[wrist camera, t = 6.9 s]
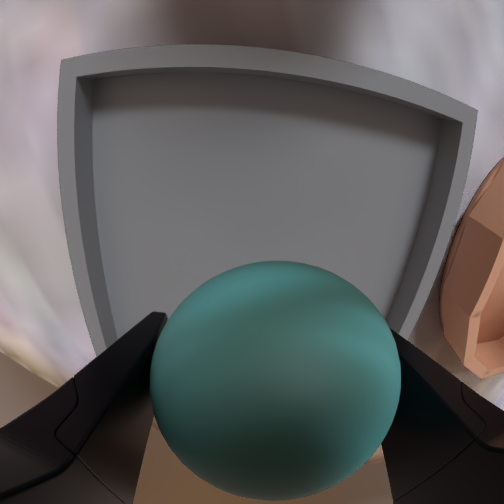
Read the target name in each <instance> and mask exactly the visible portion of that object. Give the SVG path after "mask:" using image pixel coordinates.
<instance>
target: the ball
mask: <svg viewBox="0 0 504 504" xmlns="http://www.w3.org/2000/svg"><path fill="white" fill-rule="evenodd" d="M400 389H401V368H400V360H399V356H398V351H397V347H396V343H395V340H394V338H393V335H392V333H391V331H390V328H389V327H388V325H387V323H386V321H385V319H384V317H383V316H382V315H381V313H380V312H379V310H378V309H377V308H376V306H375V305H374V304H373V303H372V302H371V300H370V299H369V298H368V297H367V296H365V295H364V294H363V293H362V292H361V291H360V290H359V289H358V288H356V287H355V286H354V285H353V284H351V283H350V282H348V281H346V280H345V279H343V278H341V277H339V276H338V275H336V274H334V273H332V272H330V271H327V270H325V269H322V268H320V267H316V266H313V265H309V264H305V263H299V262H292V261H263V262H255V263H251V264H246V265H242V266H239V267H236V268H233V269H230V270H228V271H225V272H223V273H221V274H219V275H217V276H215V277H213V278H211V279H209V280H208V281H206V282H205V283H203V284H202V285H200V286H199V287H198V288H197V289H195V290H194V291H193V292H192V293H191V294H190V295H189V296H188V297H186V298H185V299H184V300H183V301H182V302H181V303H180V305H179V306H178V307H177V308H176V309H175V311H174V312H173V313H172V315H171V316H170V318H169V319H168V321H167V323H166V324H165V326H164V328H163V330H162V331H161V334H160V336H159V339H158V341H157V344H156V347H155V350H154V353H153V358H152V363H151V370H150V395H151V401H152V407H153V412H154V415H155V418H156V421H157V424H158V426H159V429H160V431H161V433H162V435H163V437H164V438H165V440H166V442H167V444H168V445H169V447H170V448H171V449H172V451H173V452H174V453H175V455H176V456H177V457H178V458H179V459H180V460H181V462H182V463H183V464H184V465H185V466H187V467H188V468H189V469H190V470H191V471H192V472H194V473H195V474H196V475H197V476H198V477H200V478H201V479H203V480H205V481H206V482H208V483H210V484H212V485H213V486H215V487H217V488H219V489H221V490H223V491H226V492H229V493H232V494H234V495H238V496H241V497H246V498H252V499H259V500H272V501H275V500H289V499H296V498H301V497H305V496H309V495H312V494H315V493H318V492H320V491H323V490H326V489H328V488H330V487H332V486H334V485H336V484H338V483H339V482H341V481H343V480H344V479H346V478H347V477H349V476H350V475H352V474H353V473H354V472H356V471H357V470H358V469H359V468H360V467H361V466H362V465H363V464H364V463H365V462H366V461H368V460H369V458H370V457H371V456H372V455H373V454H374V452H375V451H376V450H377V448H378V447H379V446H380V444H381V443H382V441H383V440H384V438H385V436H386V434H387V432H388V430H389V428H390V426H391V424H392V422H393V419H394V416H395V413H396V410H397V406H398V403H399V397H400Z"/></svg>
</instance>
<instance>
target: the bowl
mask: <svg viewBox="0 0 504 504" xmlns="http://www.w3.org/2000/svg"><path fill="white" fill-rule="evenodd" d="M439 310H440V319H441V322H442V326H443V328H444V337H445V338H446V340H447V341H448V343H449V344H450V346H451V347H452V349H453V350H454V352H455V353H456V355H457V356H458V358H459V359H460V361H461V362H462V364H463V365H464V366H465V367H466V368H468V369H469V370H470V371H472V372H473V373H474V374H475V375H477V376H478V377H479V378H481V379H484V378H487V377H490V376H493V375H497V374H500V373H503V372H504V157H503V158H502V159H501V160H500V161H499V162H498V163H497V165H496V166H495V167H494V168H493V169H492V170H491V172H490V173H489V174H488V176H487V177H486V178H485V180H484V181H483V182H482V184H481V186H480V187H479V189H478V191H477V192H476V194H475V195H474V197H473V199H472V201H471V203H470V205H469V207H468V208H467V210H466V212H465V214H464V216H463V219H462V221H461V223H460V225H459V228H458V230H457V232H456V235H455V238H454V240H453V243H452V245H451V248H450V251H449V255H448V258H447V261H446V264H445V269H444V273H443V277H442V282H441V289H440V302H439Z"/></svg>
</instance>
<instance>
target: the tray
mask: <svg viewBox="0 0 504 504" xmlns="http://www.w3.org/2000/svg"><path fill="white" fill-rule="evenodd" d="M477 112H478V110H476V109H474V108H472V107H470V106H468V105H466V104H464V103H462V102H460V101H458V100H455V99H453V98H451V97H449V96H446V95H444V94H442V93H439V92H437V91H435V90H432V89H430V88H427V87H425V86H422V85H419V84H417V83H414V82H411V81H409V80H406V79H403V78H400V77H397V76H394V75H391V74H388V73H384V72H381V71H378V70H374V69H371V68H367V67H364V66H360V65H356V64H352V63H348V62H344V61H340V60H335V59H331V58H326V57H321V56H316V55H311V54H305V53H299V52H293V51H286V50H278V49H270V48H261V47H250V46H236V45H212V44H183V45H160V46H146V47H135V48H126V49H118V50H111V51H105V52H98V53H93V54H87V55H82V56H77V57H72V58H68V59H64V60H61V65H60V76H59V89H58V111H57V146H58V168H59V182H60V193H61V202H62V211H63V218H64V225H65V232H66V238H67V244H68V250H69V255H70V260H71V265H72V270H73V275H74V279H75V283H76V288H77V292H78V296H79V300H80V304H81V307H82V311H83V315H84V318H85V322H86V325H87V328H88V331H89V335H90V338H91V341H92V344H93V347H94V350H95V353H96V356H98V355H100V354H101V353H102V352H103V351H104V350H106V349H107V348H108V347H109V346H110V345H112V344H113V343H114V342H115V341H117V340H118V339H119V338H120V337H121V336H123V335H124V334H125V333H126V332H128V331H129V330H130V329H131V328H132V327H134V326H135V325H136V324H137V323H139V322H140V321H141V320H142V319H144V318H145V317H146V316H147V315H148V314H150V313H151V312H153V311H157V312H165V313H166V314H167V318H168V319H169V318H170V316H171V315H172V313H173V312H174V311H175V309H176V308H177V307H178V306H179V305H180V303H181V302H182V301H183V300H184V299H185V298H186V297H188V296H189V295H190V294H191V293H192V292H193V291H194V290H195V289H197V288H198V287H199V286H200V285H202V284H203V283H205V282H206V281H208V280H209V279H211V278H213V277H215V276H217V275H219V274H221V273H223V272H225V271H228V270H230V269H233V268H236V267H239V266H242V265H246V264H251V263H255V262H263V261H292V262H299V263H305V264H309V265H313V266H316V267H320V268H322V269H325V270H327V271H330V272H332V273H334V274H336V275H338V276H339V277H341V278H343V279H345V280H346V281H348V282H350V283H351V284H353V285H354V286H355V287H356V288H358V289H359V290H360V291H361V292H362V293H363V294H364V295H365V296H367V297H368V298H369V299H370V300H371V302H372V303H373V304H374V305H375V306H376V308H377V309H378V310H379V312H380V313H381V315H382V316H383V317H384V319H385V321H386V323H387V325H388V327H390V328H391V329H392V330H394V331H395V332H396V333H398V334H399V335H400V336H402V337H403V338H404V339H406V340H408V338H409V336H410V334H411V332H412V330H413V328H414V326H415V324H416V322H417V320H418V318H419V316H420V314H421V311H422V309H423V307H424V305H425V302H426V300H427V298H428V295H429V293H430V291H431V288H432V286H433V283H434V281H435V278H436V276H437V273H438V271H439V268H440V265H441V263H442V260H443V257H444V254H445V251H446V248H447V245H448V243H449V239H450V236H451V233H452V230H453V227H454V224H455V220H456V217H457V213H458V210H459V206H460V202H461V199H462V195H463V191H464V186H465V182H466V178H467V173H468V169H469V164H470V158H471V153H472V147H473V141H474V135H475V128H476V121H477Z"/></svg>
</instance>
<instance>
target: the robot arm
mask: <svg viewBox="0 0 504 504" xmlns="http://www.w3.org/2000/svg"><path fill="white" fill-rule="evenodd" d="M167 321H168V318H167V314H166V313H165V312H157V311H153V312H151V313H150V314H148V315H147V316H146V317H145V318H144V319H142V320H141V321H140V322H139V323H137V324H136V325H135V326H134V327H132V328H131V329H130V330H129V331H128V332H126V333H125V334H124V335H123V336H121V337H120V338H119V339H118V340H117V341H115V342H114V343H113V344H112V345H110V346H109V347H108V348H107V349H106V350H104V351H103V352H102V353H101V354H100V355H98V356H97V357H96V358H95V359H94V360H92V361H91V362H90V363H89V364H88V365H86V366H85V367H84V368H83V369H82V370H80V371H79V372H78V373H77V374H76V375H74V378H73V377H72V378H71V379H69V380H68V381H67V382H66V383H65V384H63V385H62V386H61V387H60V388H58V389H57V390H56V391H55V392H53V393H52V394H51V395H50V396H48V397H47V398H45V399H44V400H42V401H41V402H40V403H38V404H37V405H35V406H34V407H32V408H31V409H29V410H28V411H26V412H25V413H23V414H22V415H20V416H19V417H17V418H16V419H14V420H13V421H11V422H10V423H8V424H7V425H5V426H4V427H2V428H0V504H133V500H134V496H135V491H136V486H137V482H138V478H139V473H140V469H141V465H142V460H143V456H144V452H145V448H146V444H147V440H148V436H149V432H150V428H151V425H152V421H153V417H154V412H153V407H152V401H151V395H150V370H151V363H152V358H153V353H154V350H155V347H156V344H157V341H158V339H159V336H160V334H161V331H162V330H163V328H164V326H165V324H166V323H167ZM389 328H390V327H389ZM390 331H391V333H392V335H393V338H394V340H395V343H396V347H397V351H398V356H399V360H400V368H401V389H400V397H399V403H398V406H397V410H396V413H395V416H394V419H393V422H392V424H391V426H390V428H389V430H388V432H387V434H386V436H385V438H384V440H383V441H382V443H381V445H382V449H383V453H384V458H385V463H386V467H387V472H388V477H389V482H390V487H391V493H392V498H393V501H394V502H393V504H504V411H503V410H501V409H500V408H498V407H497V406H495V405H494V404H492V403H491V402H489V401H488V400H486V399H485V398H483V397H482V396H480V395H479V394H478V393H476V392H475V391H473V390H472V389H471V388H469V387H468V386H467V385H466V384H464V383H463V382H461V381H460V380H459V379H458V378H456V377H455V376H454V375H452V374H451V373H450V372H448V371H447V370H446V369H445V368H443V367H442V366H441V365H439V364H438V363H437V362H435V361H434V360H433V359H431V358H430V357H429V356H427V355H426V354H425V353H423V352H422V351H421V350H419V349H418V348H417V347H415V346H414V345H413V344H411V343H410V342H409V341H407V340H406V339H404V338H403V337H402V336H400V335H399V334H398V333H396V332H395V331H394V330H392V329H391V328H390Z"/></svg>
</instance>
